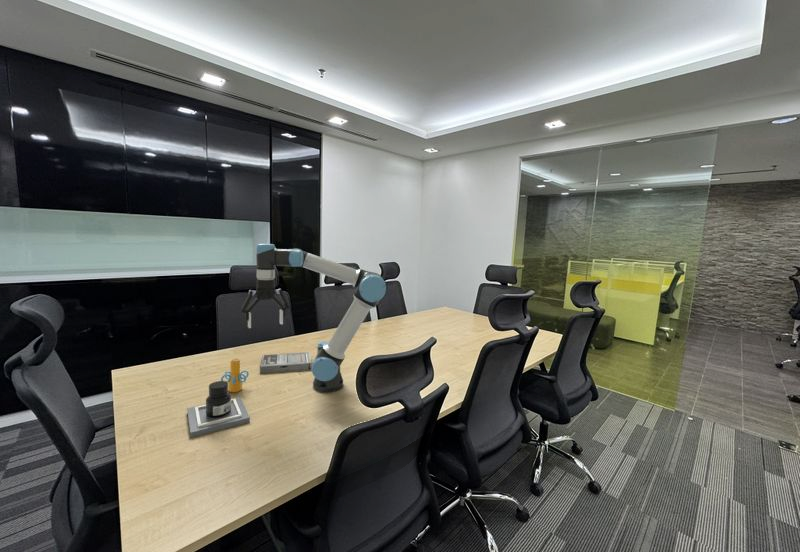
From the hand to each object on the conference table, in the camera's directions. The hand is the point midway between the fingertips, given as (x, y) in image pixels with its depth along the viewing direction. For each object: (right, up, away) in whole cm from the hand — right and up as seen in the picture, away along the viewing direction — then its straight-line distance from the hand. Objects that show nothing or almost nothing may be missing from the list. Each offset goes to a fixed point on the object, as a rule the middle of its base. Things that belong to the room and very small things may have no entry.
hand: (265, 325), depth 146 cm
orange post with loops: (-19, -33, +11) cm, 40 cm away
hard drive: (-6, -31, +44) cm, 54 cm away
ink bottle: (-14, -34, -13) cm, 39 cm away
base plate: (-14, -35, -13) cm, 40 cm away
